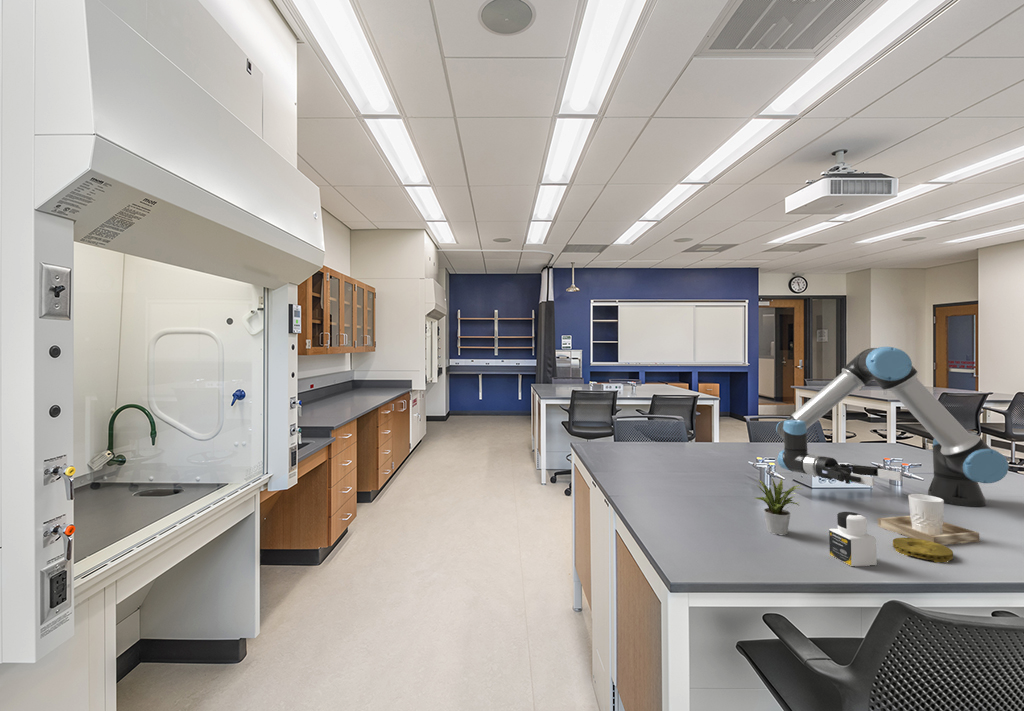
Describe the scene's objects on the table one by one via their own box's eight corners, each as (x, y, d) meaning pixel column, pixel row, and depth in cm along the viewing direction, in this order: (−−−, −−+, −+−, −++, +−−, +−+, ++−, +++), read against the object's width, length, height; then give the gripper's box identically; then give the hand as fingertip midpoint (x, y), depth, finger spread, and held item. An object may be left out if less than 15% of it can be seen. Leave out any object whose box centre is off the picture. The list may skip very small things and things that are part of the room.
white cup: (937, 538, 131) (936, 503, 132) (904, 529, 138) (903, 496, 139) (949, 533, 135) (948, 499, 135) (916, 525, 142) (915, 492, 142)
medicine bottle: (828, 555, 122) (828, 509, 122) (854, 554, 123) (853, 509, 123) (851, 567, 115) (849, 518, 115) (877, 565, 115) (876, 517, 116)
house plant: (813, 545, 128) (812, 486, 129) (757, 539, 133) (756, 482, 134) (801, 528, 142) (800, 475, 142) (750, 523, 147) (750, 471, 147)
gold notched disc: (890, 554, 123) (890, 546, 123) (895, 541, 131) (895, 534, 131) (952, 568, 114) (952, 559, 115) (953, 553, 123) (953, 545, 123)
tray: (919, 522, 146) (919, 514, 146) (979, 541, 130) (979, 532, 130) (877, 526, 143) (877, 518, 143) (933, 546, 127) (933, 537, 127)
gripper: (845, 473, 170) (912, 486, 150) (797, 481, 161) (861, 496, 142) (844, 452, 170) (911, 463, 151) (796, 459, 162) (860, 471, 142)
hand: (887, 479), depth 146 cm, fingers open, 13 cm apart
